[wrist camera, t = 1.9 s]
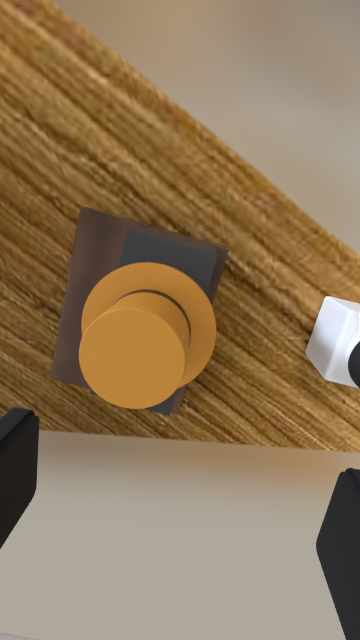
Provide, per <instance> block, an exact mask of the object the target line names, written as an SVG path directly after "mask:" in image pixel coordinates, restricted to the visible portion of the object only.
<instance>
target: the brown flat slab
mask: <svg viewBox="0 0 360 640" xmlns="http://www.w3.org/2000/svg"><path fill="white" fill-rule="evenodd" d="M133 228H158V229H162V230H165V231H168V232H172V233H175V234H179V235H182V236H186V237H189V238H193V239H196V240H200V241H203V242H207V243H210V244H214V246H215V248H216V251H217V254H218V257H217V260H216V264H215V267H214V270H213V273H212V277H211V280H210V283H209V287H208V290H207V293H206V296H207V297H208V299H209V301H210V303H211V305H212V303H213V300H214V296H215V293H216V290H217V287H218V284H219V280H220V277H221V274H222V271H223V267H224V264H225V261H226V258H227V255H228V251H229V249H228V248H227V247H226V246H222V245H219V244H215V243H212V242H208V241H205V240H201V239H198V238H194V237H191V236H187V235H184V234H180V233H177V232H173V231H170V230H166V229H163V228H159V227H156V226H152V225H149V224H145V223H142V222H138V221H135V220H131V219H128V218H124V217H121V216H117V215H114V214H110V213H107V212H103V211H100V210H96V209H93V208H88V207H81V208H80V213H79V219H78V225H77V230H76V236H75V241H74V247H73V252H72V258H71V264H70V269H69V275H68V280H67V286H66V291H65V297H64V303H63V308H62V314H61V319H60V325H59V330H58V336H57V342H56V347H55V353H54V358H53V364H52V369H51V375H50V378H53V379H56V380H60V381H63V382H66V383H70V384H73V385H77V386H80V387H84V388H87V389H91V387H90V386H89V384H88V383H87V381H86V380H85V378H84V376H83V373H82V371H81V367H80V362H79V348H80V343H81V339H82V330H81V321H82V313H83V309H84V305H85V303H86V301H87V298H88V296H89V295H90V293H91V291H92V290H93V288H94V287H95V286H96V285H97V283H98V282H99V281H101V280H102V279H103V278H104V277H105V276H107V275H108V274H109V273H111V272H113V271H115V270H117V269H118V264H119V260H120V255H121V251H122V246H123V242H124V237H125V233H126V229H133ZM186 387H187V384H185V385H184V386H182V387H180V388H178V389H177V392H176V396H175V399H174V402H173V406H172V409H171V413H174V414H178V412H179V409H180V406H181V403H182V399H183V396H184V393H185V390H186Z"/></svg>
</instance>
